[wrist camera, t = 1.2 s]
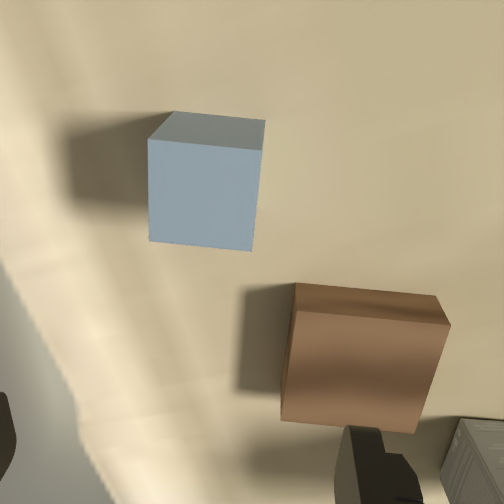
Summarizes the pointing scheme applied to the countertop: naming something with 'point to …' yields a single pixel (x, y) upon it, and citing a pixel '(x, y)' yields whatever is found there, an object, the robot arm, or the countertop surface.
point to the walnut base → (360, 357)
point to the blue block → (204, 180)
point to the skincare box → (475, 463)
